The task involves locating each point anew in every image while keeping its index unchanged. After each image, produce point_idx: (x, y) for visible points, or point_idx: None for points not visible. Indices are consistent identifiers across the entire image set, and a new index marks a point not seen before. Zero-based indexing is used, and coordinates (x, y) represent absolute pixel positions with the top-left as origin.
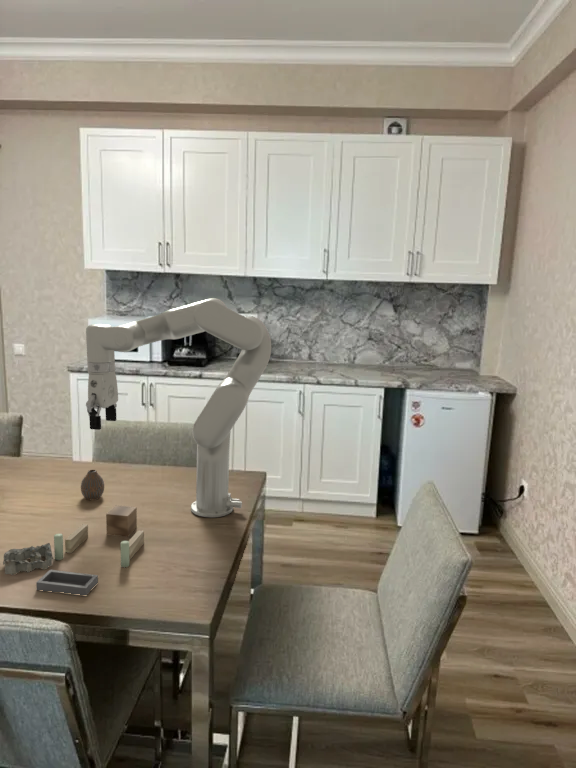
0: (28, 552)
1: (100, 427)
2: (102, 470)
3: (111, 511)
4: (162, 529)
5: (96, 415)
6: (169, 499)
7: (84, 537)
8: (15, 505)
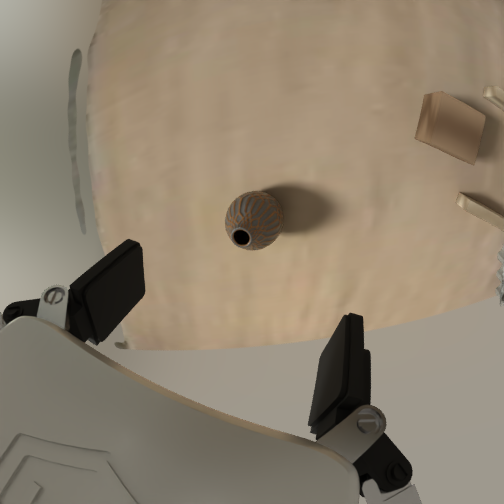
0: (500, 277)
1: (361, 322)
2: (126, 221)
3: (463, 153)
4: (429, 44)
5: (382, 422)
6: (260, 36)
7: (472, 199)
8: (301, 331)
